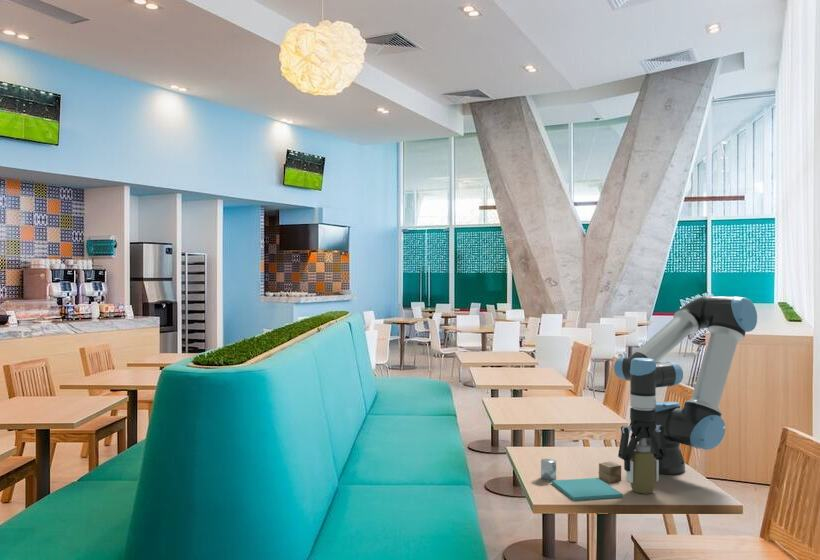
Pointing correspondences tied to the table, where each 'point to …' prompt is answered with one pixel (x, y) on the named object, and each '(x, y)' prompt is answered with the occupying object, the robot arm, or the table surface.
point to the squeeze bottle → (643, 468)
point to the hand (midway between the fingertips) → (642, 480)
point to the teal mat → (586, 489)
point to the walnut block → (610, 471)
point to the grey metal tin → (548, 469)
